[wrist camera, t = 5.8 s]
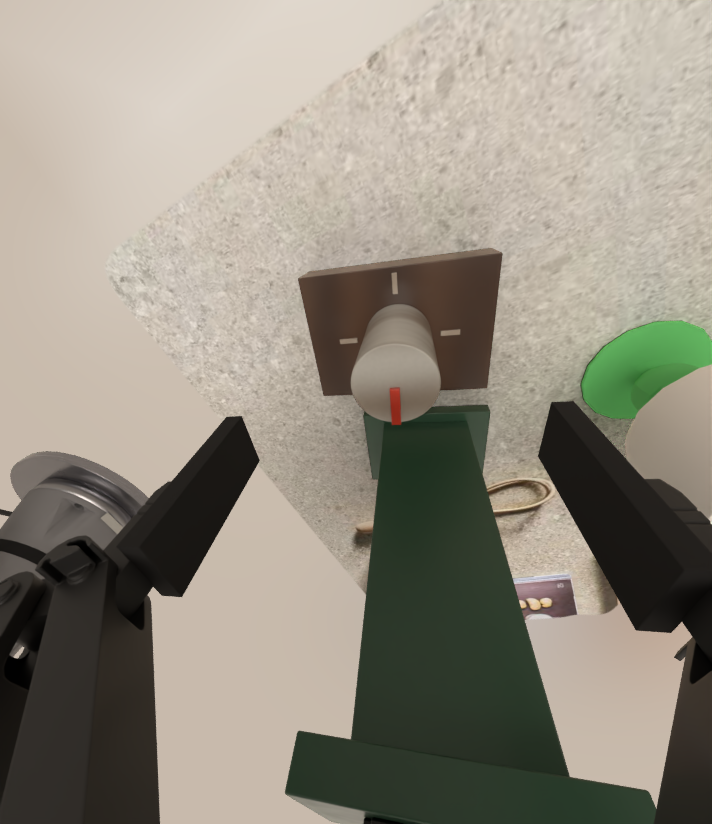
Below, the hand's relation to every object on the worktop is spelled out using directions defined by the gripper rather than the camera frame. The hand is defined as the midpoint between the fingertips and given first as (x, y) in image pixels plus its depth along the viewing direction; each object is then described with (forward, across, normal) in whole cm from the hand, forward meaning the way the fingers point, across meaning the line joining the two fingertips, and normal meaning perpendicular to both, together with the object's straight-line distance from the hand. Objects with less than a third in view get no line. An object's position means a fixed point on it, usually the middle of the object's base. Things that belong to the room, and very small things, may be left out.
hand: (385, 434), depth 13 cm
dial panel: (+15, 0, 0) cm, 15 cm away
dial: (+12, 0, 0) cm, 12 cm away
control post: (+15, +2, -13) cm, 20 cm away
